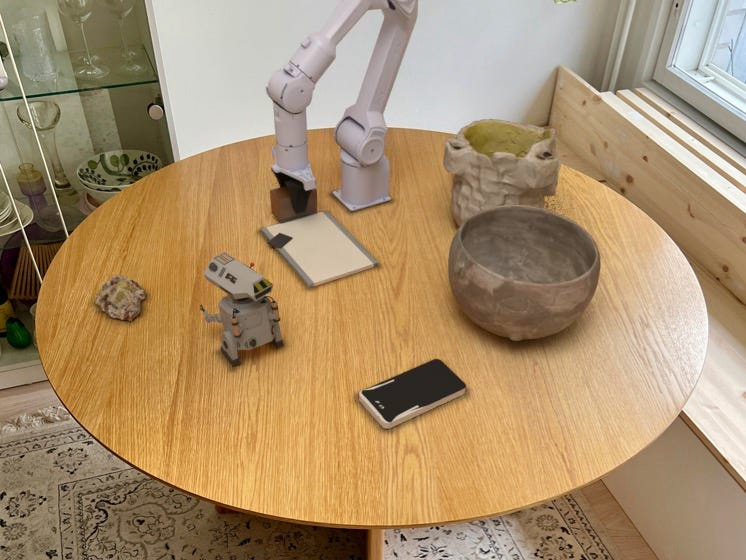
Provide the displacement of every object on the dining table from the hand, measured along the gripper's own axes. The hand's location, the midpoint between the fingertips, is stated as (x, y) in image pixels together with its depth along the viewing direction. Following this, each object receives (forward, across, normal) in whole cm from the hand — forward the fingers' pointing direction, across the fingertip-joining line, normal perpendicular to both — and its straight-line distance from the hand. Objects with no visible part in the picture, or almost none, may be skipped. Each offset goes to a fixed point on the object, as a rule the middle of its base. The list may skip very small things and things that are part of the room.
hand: (295, 206), depth 145 cm
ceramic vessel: (+3, +20, +34) cm, 40 cm away
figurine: (+3, +30, -24) cm, 38 cm away
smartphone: (+3, +52, -6) cm, 53 cm away
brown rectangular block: (+1, 0, 0) cm, 1 cm away
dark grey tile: (+2, +7, -7) cm, 10 cm away
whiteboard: (+2, +12, -1) cm, 12 cm away
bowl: (+3, +44, +18) cm, 48 cm away
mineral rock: (+3, +10, -38) cm, 39 cm away
